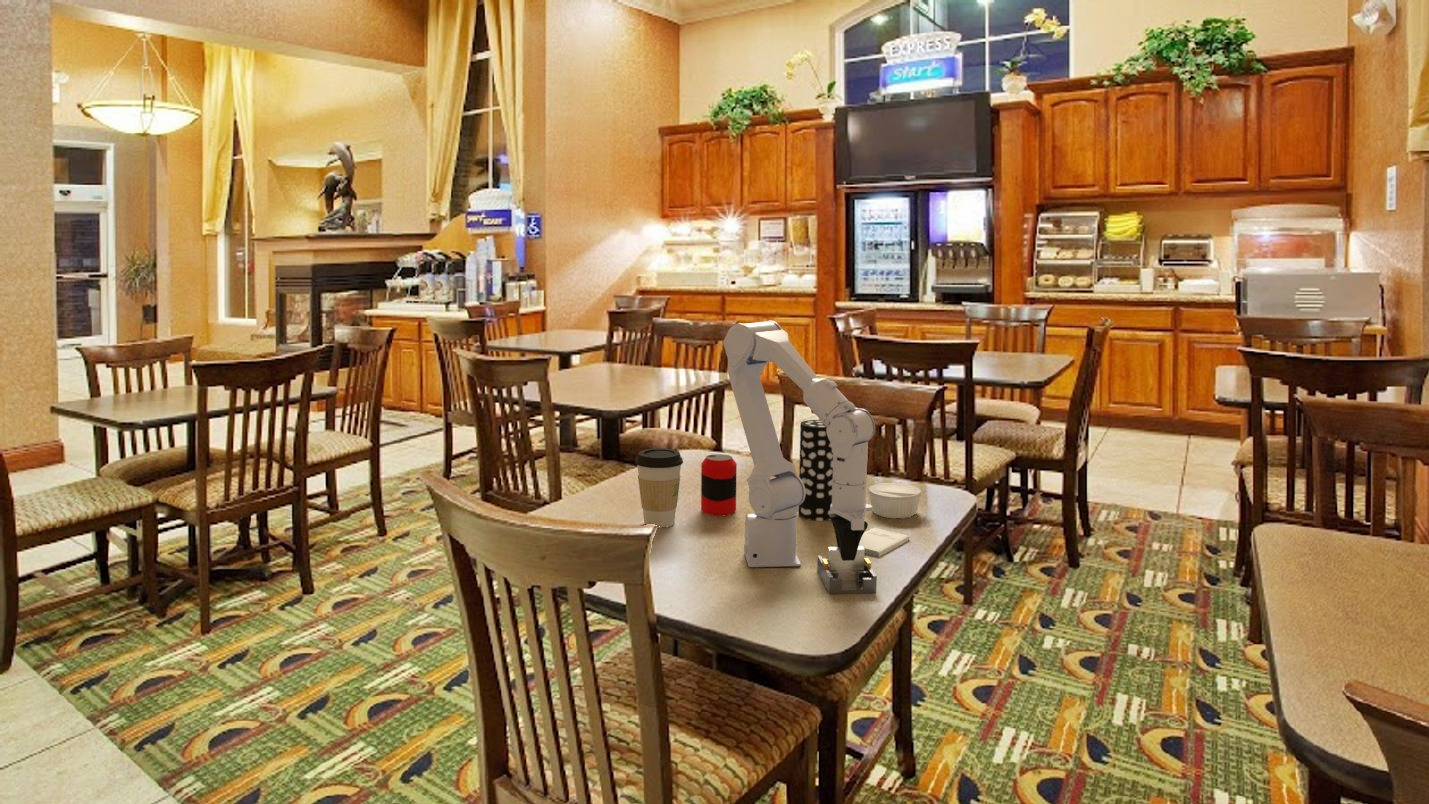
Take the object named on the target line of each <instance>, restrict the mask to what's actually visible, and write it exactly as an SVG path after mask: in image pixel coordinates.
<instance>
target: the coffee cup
mask: <svg viewBox="0 0 1429 804" xmlns="http://www.w3.org/2000/svg"><path fill="white" fill-rule="evenodd" d="M634 463H635V465H637V471H638V475H637V479H638V486H639V487H638V489H639V495H640V496H639V497H640V502H641V503H640V504H641V509H642V512H643V513H642V515H643V521H644V523H645V524H655V525H657V527H659V526H660V527H666V528H668V527H667V526H670V527H672V526H671V525H673V524H674V525H675V519H676V511H677V508H678V499H679V492H680V481H681V467H682V465H683V464H684V461H683V457H682V455H681V452H680V451H679V450H677V449H673V448H664V447H663V448H662V447H661V448H658V447H655V448H647V449H642V450H640V451H639V452H638V453H637V457H636V458H635V462H634ZM645 524H644V525H645ZM674 525H673V526H674Z"/></svg>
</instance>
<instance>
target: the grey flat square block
mask: <svg viewBox="0 0 1429 804" xmlns="http://www.w3.org/2000/svg"><path fill="white" fill-rule="evenodd" d="M864 558H865V549H864V548H863V546H858V550H857V554H856V557H855V560H850V561H843V560H842V557H841V553H840V547H837V546H828V547H827V559H828V569H829V570H830V572H836V571H837V572H838V578H842V580H858V571H864Z"/></svg>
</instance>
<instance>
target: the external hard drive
mask: <svg viewBox="0 0 1429 804" xmlns="http://www.w3.org/2000/svg"><path fill="white" fill-rule="evenodd" d="M908 540H909V541H910V536H909V535H907V534H903V533H898V532H894V531H891V530H887V529H882V528H878V527H872V528H870V529H869V530H865V532H864V534H863V535H862V537H861V540H860V543H859V546H863V548H864V549H865V553H864V555H870V556H873V557H877V558H880V557H881V556H883V555H886V554H887V553H888V552H891V551H892V550H895V549H896V548H898V547H899V545H900V546H901V544H902V545H903V544H906V543H907V542H908Z"/></svg>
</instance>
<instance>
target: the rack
mask: <svg viewBox="0 0 1429 804" xmlns="http://www.w3.org/2000/svg"><path fill="white" fill-rule="evenodd" d="M871 562H872V561H870V559H869V558H868V557H866V558H865V557H864V571H858V580H842V578H838V572H837V571H836V572H830V570H829V569H828V558H823V557H822V555H821V554H820V555H817V568H816V572H817V574H818V576H819V578H820V579H821V581H822V584H823V585H824V587H825V589H826V591H827V592H828V595H838V594H839V595H842V594H877V580H878V578H877V574H876V572H875V571H874V570H873V568H872V563H871Z"/></svg>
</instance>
